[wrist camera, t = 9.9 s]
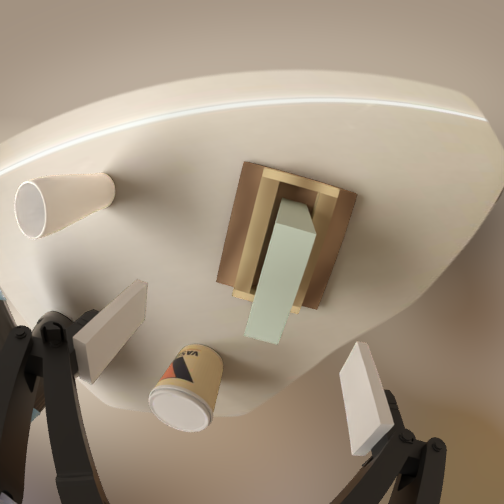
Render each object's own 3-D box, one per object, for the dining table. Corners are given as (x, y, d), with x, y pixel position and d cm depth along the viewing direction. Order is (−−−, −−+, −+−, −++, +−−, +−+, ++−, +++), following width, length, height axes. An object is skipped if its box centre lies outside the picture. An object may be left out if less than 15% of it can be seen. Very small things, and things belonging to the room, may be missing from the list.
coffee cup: (202, 330, 42) (176, 382, 31) (240, 370, 44) (225, 426, 33) (164, 352, 45) (134, 399, 34) (199, 387, 47) (179, 437, 35)
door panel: (261, 273, 37) (243, 335, 24) (282, 197, 33) (275, 222, 20) (283, 279, 37) (277, 344, 23) (306, 204, 33) (316, 234, 20)
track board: (218, 278, 39) (211, 289, 36) (245, 161, 34) (240, 161, 30) (316, 305, 38) (318, 319, 35) (355, 193, 33) (362, 196, 30)
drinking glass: (89, 214, 39) (19, 241, 25) (84, 171, 37) (10, 184, 23) (123, 211, 38) (51, 240, 24) (119, 164, 36) (42, 174, 22)
